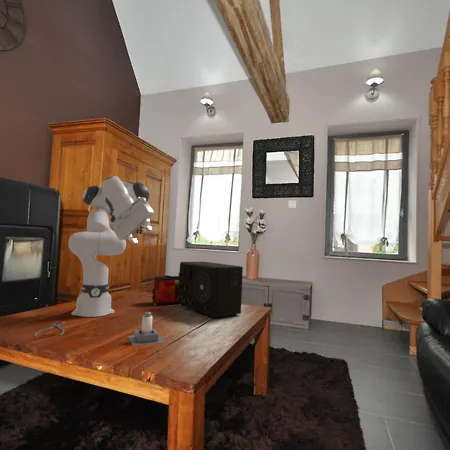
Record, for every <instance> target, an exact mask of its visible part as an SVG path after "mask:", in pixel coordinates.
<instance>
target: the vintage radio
mask: <svg viewBox="0 0 450 450" xmlns="http://www.w3.org/2000/svg"><path fill="white" fill-rule="evenodd" d="M243 269H244V267H243V266H241V265H233V264H226V263H216V262H210V261H180V263H179V272H178V275H177V276H179V285H178V288H179V291H178V298H177V301H178V304H179V305H178V306H180V307H181V308H187V309H190V310H193V311H196V312H198V313H202V314H204V315H206V316H210V317H211V318H212V319H217V318H220V317H227V316H236V315H240V314H241V313H242V300H243V298H242V297H243V296H242V295H243V273H244V272H243V271H244V270H243Z"/></svg>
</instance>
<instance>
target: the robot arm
mask: <svg viewBox="0 0 450 450" xmlns="http://www.w3.org/2000/svg"><path fill="white" fill-rule="evenodd" d="M150 195H151V194H150V193H149V189H148V188H147V186H146V185H144V183H143V182H140V181H139V182H138V181H137V182H132V181H122V180H121V179H120V177H118V176H117V175H111V176H110V177H107V178H105V179H104V180H103V181H102V182H101V187H100V186H98V185H97V184H95V185H91V186H90V185H89V186H87V187H86V189H84V191H83V192H82V202H83V203H84V204H85V205H87V206H90V207H93V208H94V209H91V210H90V212H89V213H88V216H87V220H86V231H79V232H73V233H72V234H71V235H70V237H69V239H68V248H69V251H70V252H72V253H73V254H74V255H75V256H76V257H77V258H78V260H79V261H80V262H81V265H82V271H83V275H82V276H83V277H82V284H81V288H80V289H81V293H80V294H79V295H78V296H77V298H76V305H75V307H76V308H75V309H74V310H73V311H72V312H71V316H79V317H86V318H96V317H102V316H106V315H109V314H114V313H115V310H114V309H113V308H112V296H111V294H109V288H110V287H109V285H110V284H109V274H110V273H109V272H110V271H109V267H108V266H107V265H106V264H105V263H104V262H101V261H99V260H98V259H96V257H97V256H116V255H122V254H123V253H124V252H125V250H126V248H127V241H126V240H128V241H130V242H131V243H132V245H136V244H137V243H138V240H137V238H134V237H133V234H134V233H135V232H136V231H137V230H139V228H140V227H141V226H143V225H144V224H145V226H146V227H145V228H144V229H145V230H146V232H151V230H153V229H152V226H151V220H150V218H151V217H153V215H154V210H153V208H152V207H151V206H150V204H149V203H148V201H149V199H150ZM110 225H112V228H111V227H110Z"/></svg>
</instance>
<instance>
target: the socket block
mask: <svg viewBox="0 0 450 450" xmlns="http://www.w3.org/2000/svg"><path fill="white" fill-rule="evenodd" d="M128 338H129V341H130V343H131V345H132V346H143V345H153V344H154V345H155V344H164V343H166V341H165V340H164V339H163V338H162V337H161V335H160V334H159V332H158V331H157V330H156V329H155V328H152V334H142V328H140V329H135V330H134V334H132V335H128Z"/></svg>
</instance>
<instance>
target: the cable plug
mask: <svg viewBox="0 0 450 450" xmlns="http://www.w3.org/2000/svg"><path fill="white" fill-rule="evenodd" d="M141 329H142V334H152V329H153V315H152V312H149V311H147V312H144V313H143V315H142V320H141Z"/></svg>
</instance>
